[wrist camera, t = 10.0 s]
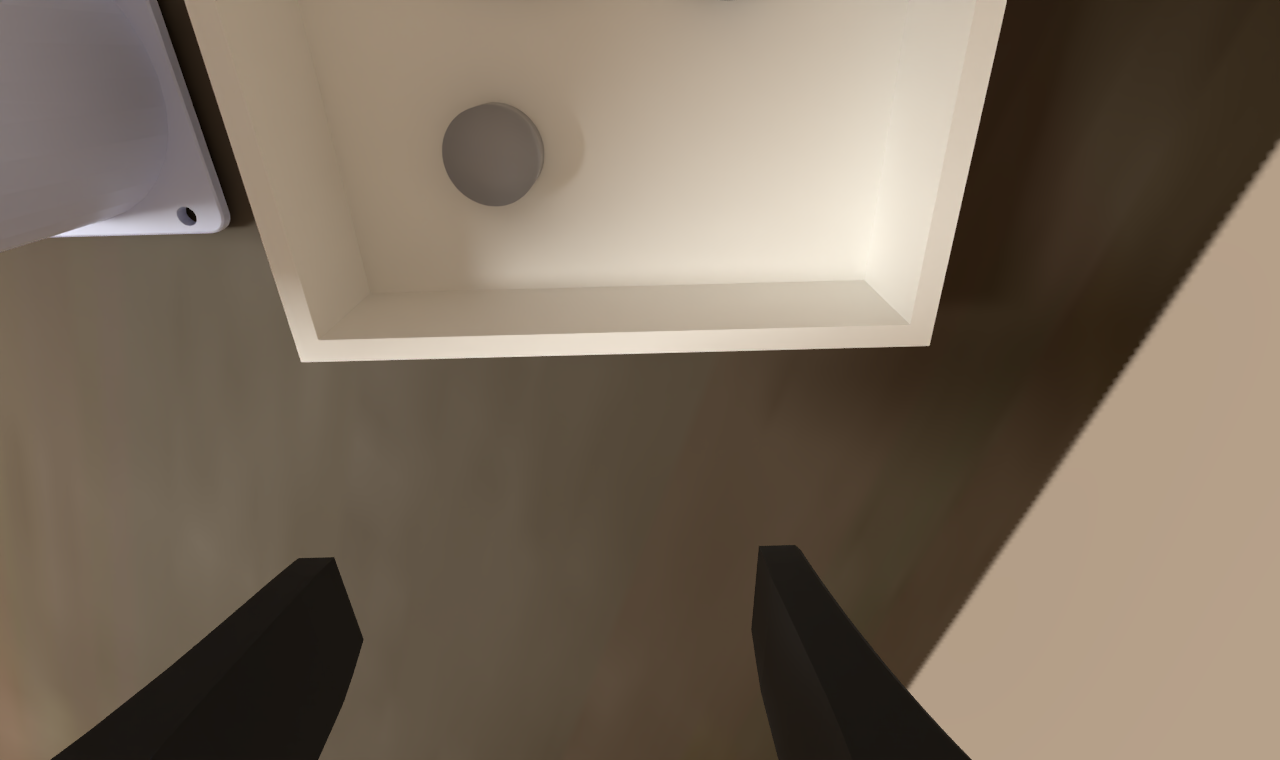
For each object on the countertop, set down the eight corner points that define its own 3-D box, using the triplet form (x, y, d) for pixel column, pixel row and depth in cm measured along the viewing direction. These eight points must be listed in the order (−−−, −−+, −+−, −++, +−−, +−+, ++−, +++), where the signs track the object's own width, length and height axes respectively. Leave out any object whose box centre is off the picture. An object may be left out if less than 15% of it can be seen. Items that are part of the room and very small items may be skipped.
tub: (363, 305, 19) (301, 362, 15) (214, -274, 13) (55, -400, 9) (874, 291, 19) (929, 345, 15) (972, -295, 13) (1103, -428, 9)
